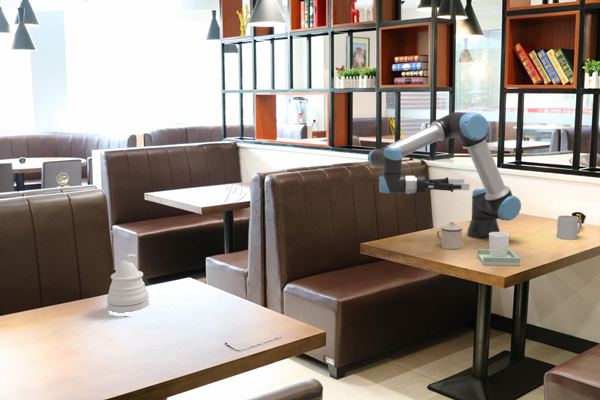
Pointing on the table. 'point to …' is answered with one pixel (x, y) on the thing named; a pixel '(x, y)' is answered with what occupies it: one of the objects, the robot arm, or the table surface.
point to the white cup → (498, 244)
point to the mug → (568, 227)
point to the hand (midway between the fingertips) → (466, 184)
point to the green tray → (498, 258)
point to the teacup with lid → (450, 236)
